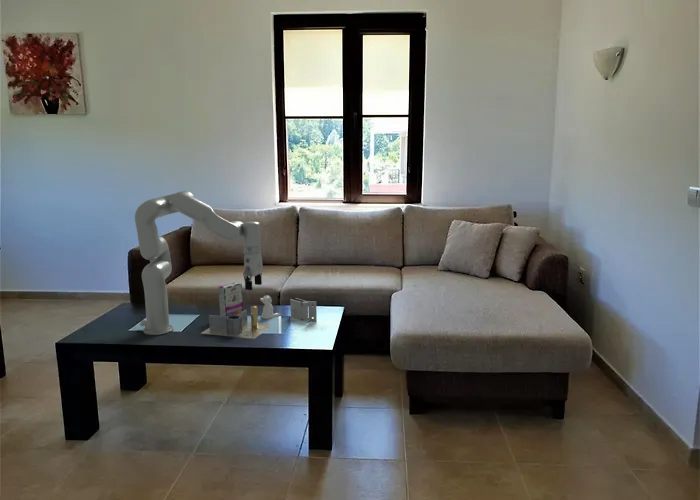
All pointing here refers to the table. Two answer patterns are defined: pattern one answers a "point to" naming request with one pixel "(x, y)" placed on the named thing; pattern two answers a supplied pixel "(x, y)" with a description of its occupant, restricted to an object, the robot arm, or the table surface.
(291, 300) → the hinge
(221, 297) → the candy bar box
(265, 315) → the seated beast figurine
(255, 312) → the pin
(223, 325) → the grey walled base plate
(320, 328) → the table surface
